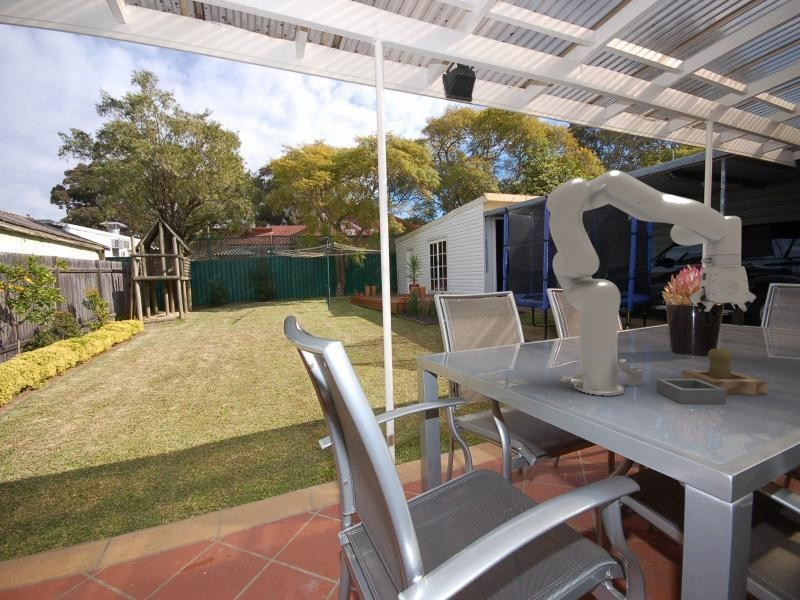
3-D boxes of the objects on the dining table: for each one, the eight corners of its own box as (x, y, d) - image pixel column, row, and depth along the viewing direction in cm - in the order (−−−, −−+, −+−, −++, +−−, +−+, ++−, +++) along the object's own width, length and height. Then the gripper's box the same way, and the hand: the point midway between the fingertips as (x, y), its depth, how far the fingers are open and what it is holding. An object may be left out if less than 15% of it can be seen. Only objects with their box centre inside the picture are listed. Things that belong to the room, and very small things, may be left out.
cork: (739, 391, 103) (739, 351, 102) (712, 390, 104) (713, 351, 104) (726, 385, 108) (726, 347, 108) (701, 384, 110) (701, 347, 109)
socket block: (713, 394, 100) (713, 381, 100) (682, 381, 113) (682, 370, 113) (766, 394, 99) (767, 381, 99) (728, 381, 112) (729, 370, 112)
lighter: (637, 383, 113) (637, 356, 113) (642, 384, 112) (642, 358, 111) (617, 385, 112) (617, 358, 111) (622, 387, 110) (622, 359, 110)
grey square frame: (681, 403, 94) (681, 389, 94) (657, 391, 104) (656, 379, 104) (726, 403, 93) (726, 389, 93) (697, 391, 103) (697, 379, 103)
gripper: (698, 262, 102) (697, 327, 103) (768, 260, 100) (767, 326, 101) (680, 263, 109) (680, 324, 110) (745, 261, 107) (745, 323, 108)
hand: (722, 325), depth 105 cm, fingers open, 7 cm apart
